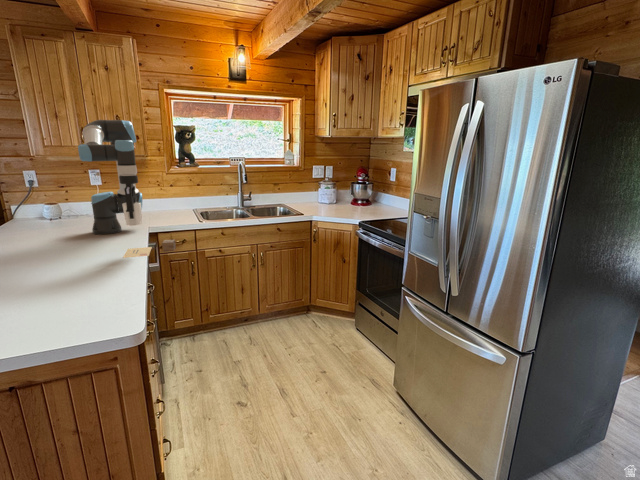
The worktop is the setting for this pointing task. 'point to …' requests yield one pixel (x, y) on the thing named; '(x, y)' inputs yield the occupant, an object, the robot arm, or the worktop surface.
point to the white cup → (137, 213)
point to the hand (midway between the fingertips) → (134, 223)
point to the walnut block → (168, 245)
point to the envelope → (137, 252)
